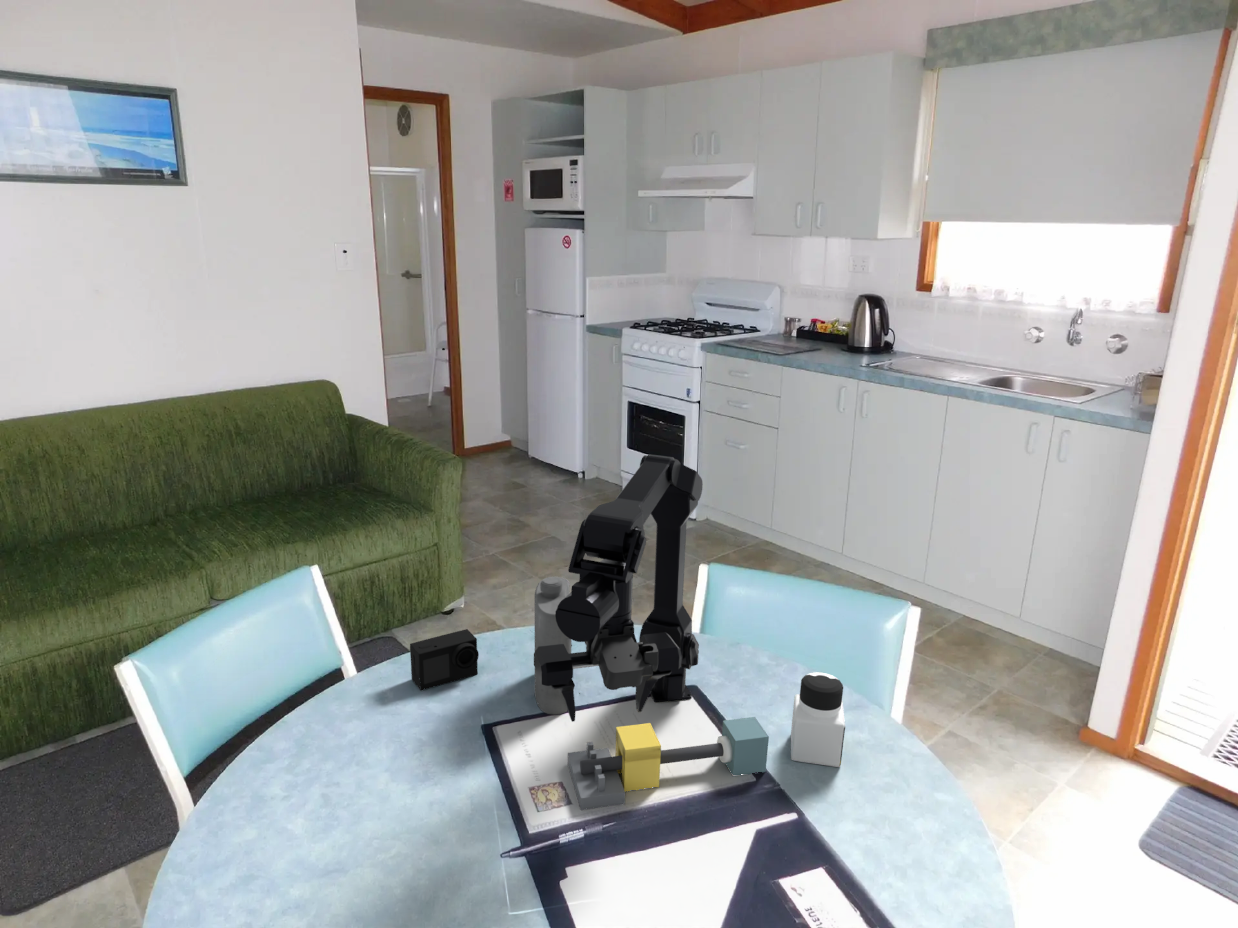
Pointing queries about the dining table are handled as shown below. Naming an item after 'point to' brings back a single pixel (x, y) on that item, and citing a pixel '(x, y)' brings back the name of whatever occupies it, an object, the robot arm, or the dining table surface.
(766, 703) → the dining table surface
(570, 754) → the grey pronged block
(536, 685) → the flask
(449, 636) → the digital camera
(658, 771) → the sleeve
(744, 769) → the dark grey rod
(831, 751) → the medicine bottle
